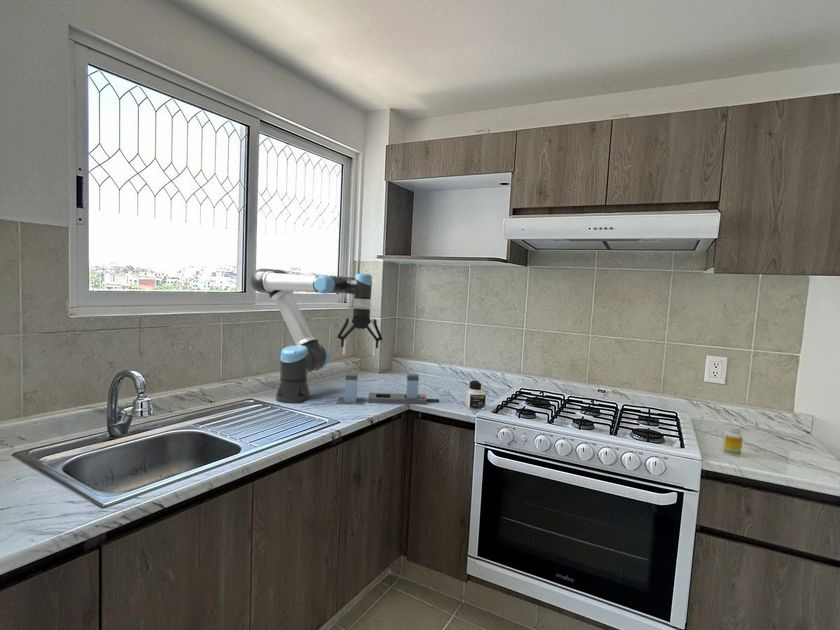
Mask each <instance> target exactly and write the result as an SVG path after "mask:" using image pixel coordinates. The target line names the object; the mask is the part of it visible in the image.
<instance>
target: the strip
mask: <svg viewBox="0 0 840 630" xmlns="http://www.w3.org/2000/svg"><path fill="white" fill-rule="evenodd" d="M367 399H368V401H367V403H368V404H387V405H388V404H389V405H390V404H392V405H393V404H396V405H397V404H398V405H426V406H427V404H428V403H440V399H439V398H427V396H426V394H421V393H420V394H419V393H418V399H409V398H406V393H385V392H368V397H367Z"/></svg>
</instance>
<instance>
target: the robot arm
mask: <svg viewBox="0 0 840 630" xmlns="http://www.w3.org/2000/svg"><path fill="white" fill-rule="evenodd" d="M249 279H250V280H249V282H250V285H251V288H252V289H254V291H256V292H257V293H261V294H267V295H268V296H269V298H270V301H273V302H275V304H276V305H277V307H278V309H279V312H280V314H281V316H282V317H283V320H284V322H285V324H286V327H287V328H288V331H289V333H290V335H291V337H292V339H293V341H294V345H289V346H286V347H284V348H282V350H281V352H280V375H279V379H280V380H279V383H278V386H277V389H276V392H275V400H276V401H277V402H280V403H288V404H292V403H293V404H294V403H295V404H296V403H304V402H305V401H309V400H310V399H311V391H310V388H309V384H308V373H310V372H311V373H312V372H314V371H315V372H316V371H319V370H321V369H323V368H325V367H326V366H327V365H328V363H329V360H330V353H329V350H328V348H327V347H326V346H324V345H322V344H320V342H319V340H318V338H315V337H313V335H312V332H311V331H310V328H309V326H308V324H307V323H306V320H305V317H304V316H303V314H302V311H301V309H300V307H299V305H298V303H297V301H296V299H295V297H294V292H304V293H305V292H306V293H318V294H347V295H348V294H350V295H354V298H353V308H352V309H353V311H352V318H348V317H345V321H344V324H343V325H342V327H341V328H340V330H339V332H338V334H337V336H336V337H337V339H339V340H340V346H341V348H342V355H343V356H344V355H346V341H347V340H346V338H347V337H348V336H349V335H350V334H351V333H352V332H353V331H354V330H355V329H358V330H359V329H362V330H365V329H367V331H368V332H369V333H370V335H371V336H372V338H373V346H372V356H374V357H375V356H376V349H378V348H379V342H380V341H383V340H384V339H383V336H382V334H381V332H380V330H379V326H378V323H377V319H375V318H374V319H371V318H370V317H371V309H370V308H371V301H372V289H373V288H372V286H373V276H372V275H371V274H368V273H355V275H354V277H350V276H339V275H338V276H337V275H335V276H333V275H324V274H323V275H317V274H298V273H297V274H295V273H294V274H293V273H290V272H289V271H286V270H284V269H280V268H279V269H277V268H276V269H273V268H258V269H256V270H255V271H253V272H252V274H251V275H250V278H249ZM350 323H352V325H351V327H349V328H348V329H347V331H346V332H345V333H344V331H345V330H346V328H347V327H348V325H349V324H350ZM370 324H372V325H373V327H374V329H375V332H376V334H377V335H376V334H375V333H374V332H373V330H372V329H371V327H369V325H370ZM377 336H378V337H377Z"/></svg>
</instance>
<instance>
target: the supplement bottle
mask: <svg viewBox="0 0 840 630" xmlns="http://www.w3.org/2000/svg"><path fill="white" fill-rule="evenodd" d="M741 432H742V427H740V426H737V425H731V424H729V425H727V426H726V431H724V432H723V433H724V434H723V441H722V452H723V453H724V454H726V455H729V456H733V457H734V456H735V457H739V456H741V455H742V454H741V453H742V447H743V446H742V445H743V438H744V437H743V434H742V433H741Z"/></svg>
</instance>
